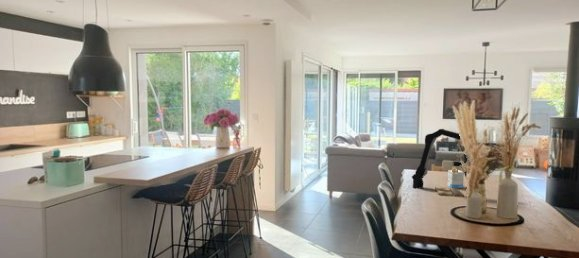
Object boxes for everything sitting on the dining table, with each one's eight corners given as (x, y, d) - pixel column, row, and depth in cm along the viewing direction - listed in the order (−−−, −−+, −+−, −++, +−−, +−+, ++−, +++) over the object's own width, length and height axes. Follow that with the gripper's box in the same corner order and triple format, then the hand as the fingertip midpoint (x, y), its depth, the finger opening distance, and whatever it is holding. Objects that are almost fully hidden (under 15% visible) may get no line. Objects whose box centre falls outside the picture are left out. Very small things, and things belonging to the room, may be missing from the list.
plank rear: (436, 191, 278) (436, 189, 277) (434, 188, 284) (434, 187, 284) (450, 192, 276) (450, 190, 276) (448, 189, 282) (448, 188, 282)
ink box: (463, 188, 288) (464, 169, 287) (451, 188, 288) (452, 169, 287) (458, 185, 297) (459, 167, 295) (447, 185, 297) (448, 167, 296)
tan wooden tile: (454, 196, 265) (454, 194, 265) (449, 189, 283) (449, 188, 283) (463, 196, 264) (463, 195, 264) (458, 190, 282) (458, 188, 281)
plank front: (438, 194, 267) (438, 192, 267) (437, 192, 274) (437, 190, 274) (452, 195, 265) (453, 193, 265) (451, 193, 272) (451, 191, 272)
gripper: (455, 154, 261) (454, 178, 262) (487, 156, 257) (485, 180, 258) (452, 152, 272) (451, 175, 273) (482, 153, 268) (481, 176, 269)
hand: (467, 177), depth 268 cm, fingers closed
